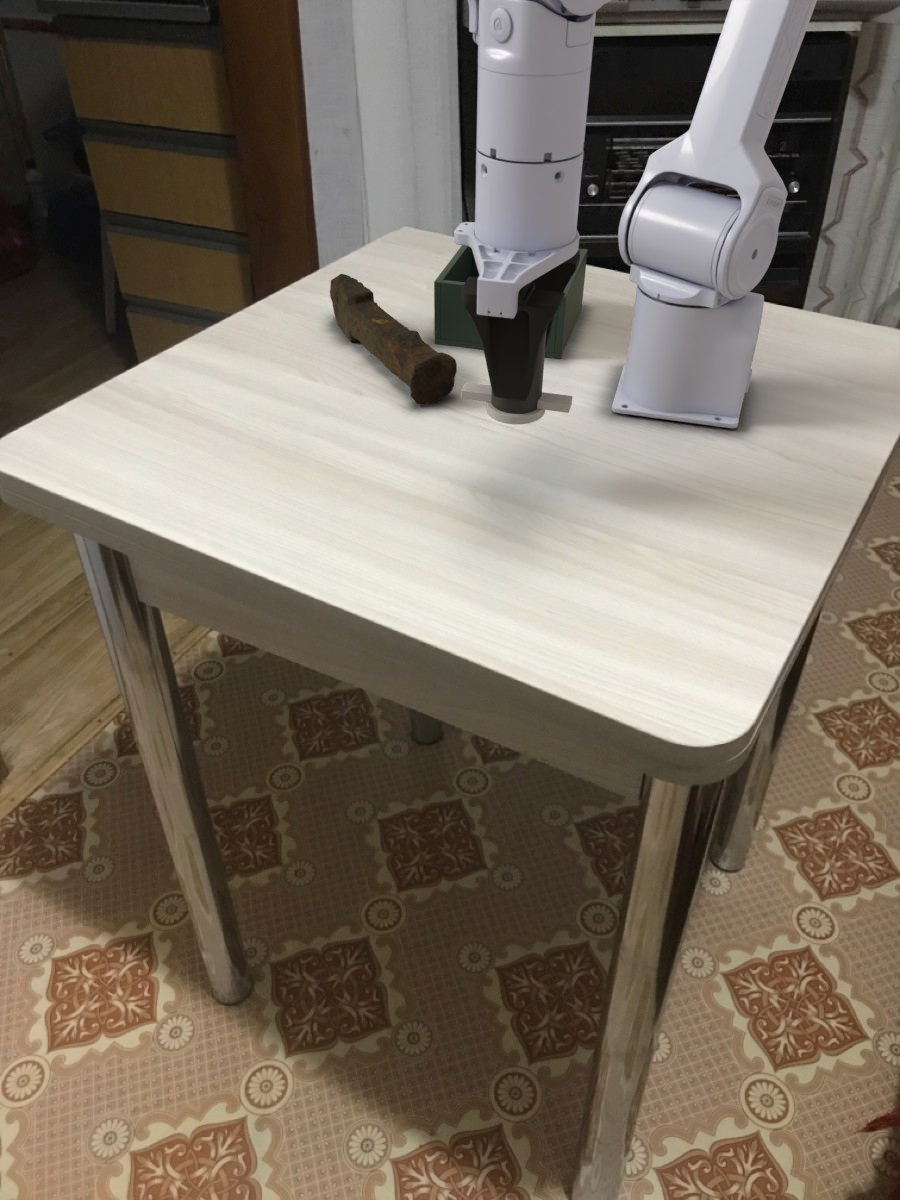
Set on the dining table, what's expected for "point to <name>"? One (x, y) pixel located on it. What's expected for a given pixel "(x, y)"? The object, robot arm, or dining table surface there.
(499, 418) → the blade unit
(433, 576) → the dining table surface
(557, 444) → the dining table surface
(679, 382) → the robot arm
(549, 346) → the green storage bin
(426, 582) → the dining table surface
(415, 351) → the hand tool
